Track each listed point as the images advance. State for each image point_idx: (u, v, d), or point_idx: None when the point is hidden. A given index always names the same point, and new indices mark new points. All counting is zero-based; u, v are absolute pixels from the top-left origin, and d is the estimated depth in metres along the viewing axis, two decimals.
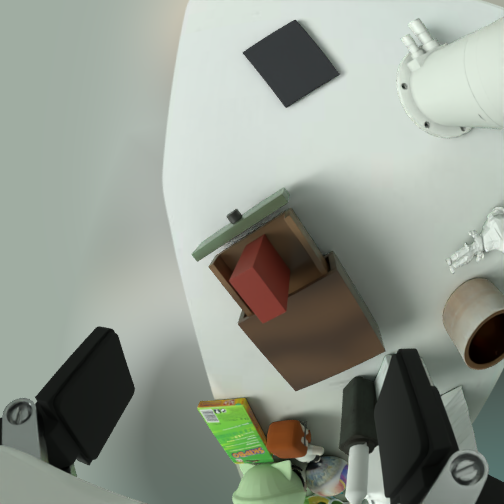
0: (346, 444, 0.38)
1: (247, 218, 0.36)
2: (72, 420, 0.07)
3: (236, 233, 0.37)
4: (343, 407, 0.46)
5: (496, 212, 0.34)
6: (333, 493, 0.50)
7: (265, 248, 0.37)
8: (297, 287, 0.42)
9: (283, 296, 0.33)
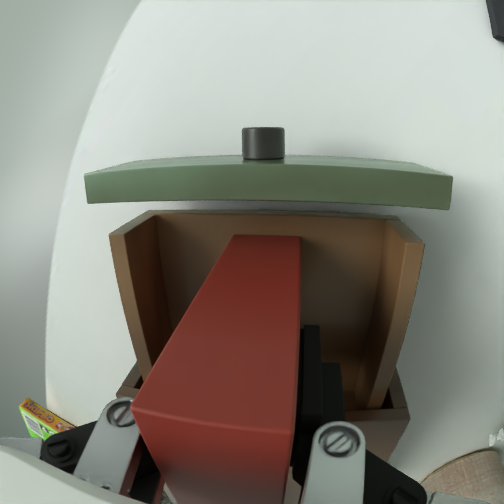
0: None
1: (314, 170, 0.10)
2: None
3: (246, 192, 0.10)
4: None
5: None
6: None
7: None
8: None
9: None
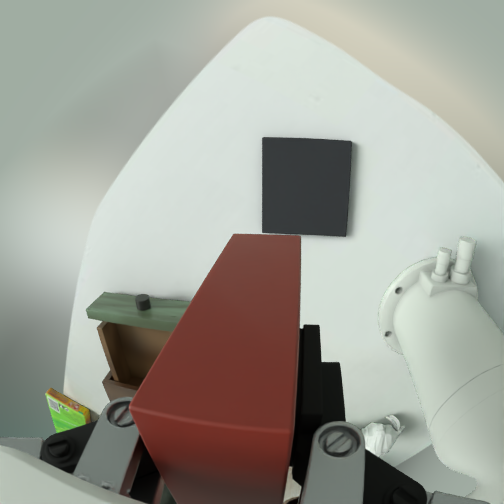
0: None
1: (151, 321, 0.30)
2: None
3: (134, 324, 0.31)
4: None
5: (391, 419, 0.37)
6: None
7: None
8: None
9: None
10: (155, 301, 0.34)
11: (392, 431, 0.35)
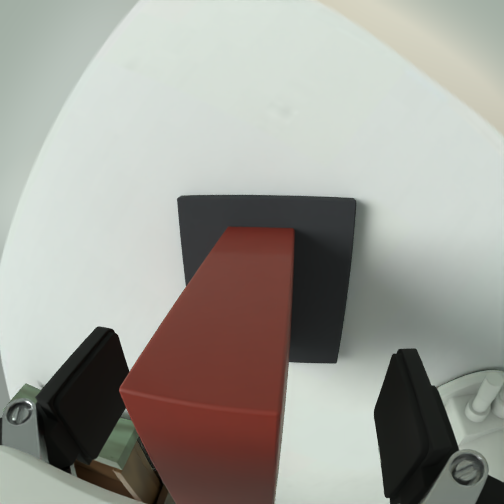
0: None
1: None
2: (72, 420, 0.07)
3: None
4: None
5: None
6: None
7: None
8: (118, 478, 0.25)
9: None
10: None
11: None
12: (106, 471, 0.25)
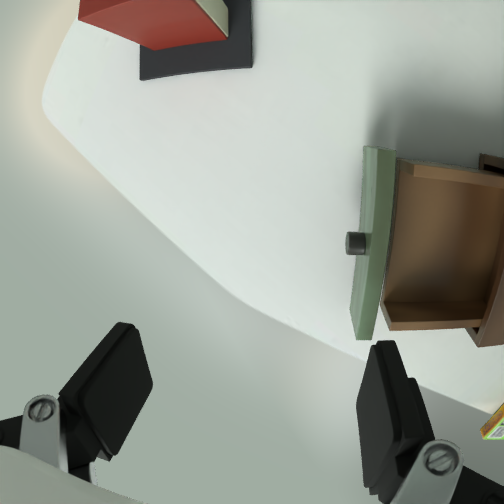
0: None
1: (375, 228, 0.18)
2: (95, 416, 0.07)
3: (382, 260, 0.19)
4: None
5: None
6: None
7: None
8: (493, 234, 0.20)
9: None
10: (361, 226, 0.22)
11: None
12: (482, 247, 0.21)
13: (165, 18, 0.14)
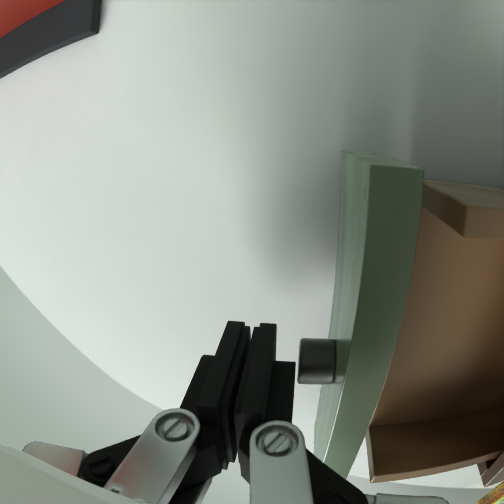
0: None
1: (354, 363, 0.07)
2: (230, 422, 0.07)
3: (365, 413, 0.08)
4: None
5: None
6: None
7: None
8: None
9: None
10: (333, 319, 0.11)
11: None
12: None
13: None
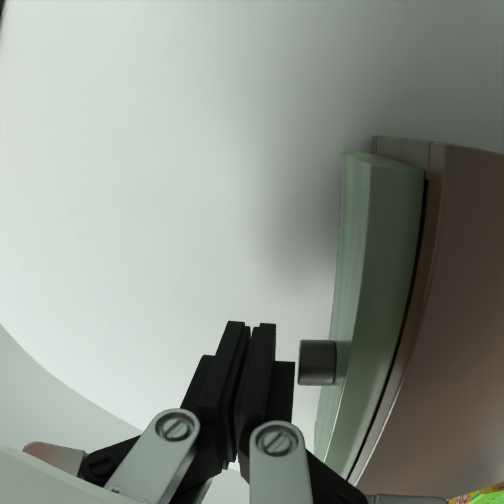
0: None
1: (354, 364, 0.07)
2: (230, 423, 0.07)
3: (366, 415, 0.08)
4: None
5: None
6: None
7: None
8: None
9: None
10: (333, 321, 0.11)
11: None
12: None
13: None
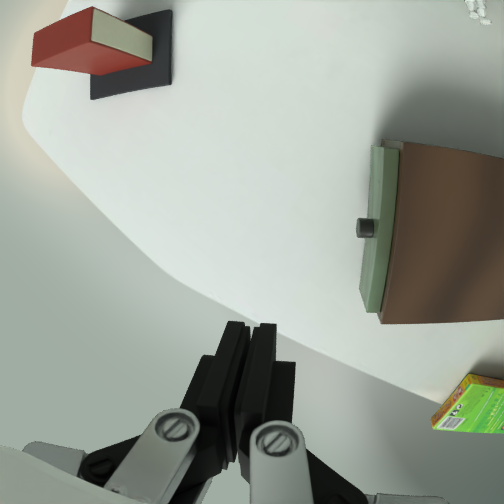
0: None
1: (382, 213, 0.22)
2: (230, 422, 0.07)
3: (388, 241, 0.23)
4: None
5: None
6: None
7: None
8: None
9: None
10: (369, 214, 0.26)
11: None
12: None
13: (92, 57, 0.18)
